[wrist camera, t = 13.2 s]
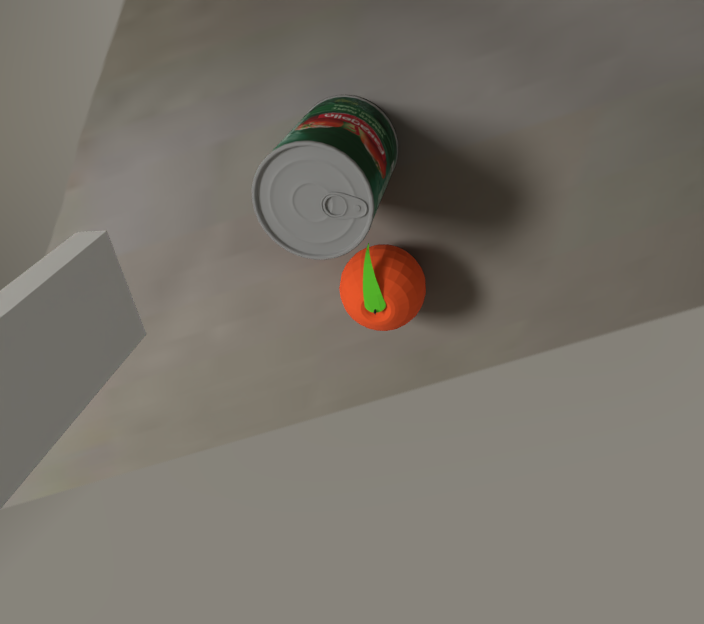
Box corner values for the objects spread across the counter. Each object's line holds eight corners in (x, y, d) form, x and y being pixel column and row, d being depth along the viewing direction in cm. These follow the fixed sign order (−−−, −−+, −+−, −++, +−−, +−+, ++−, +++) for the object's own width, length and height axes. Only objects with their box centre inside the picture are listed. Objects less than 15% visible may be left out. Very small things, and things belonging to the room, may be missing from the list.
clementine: (337, 224, 51) (315, 265, 45) (419, 212, 49) (408, 253, 43) (359, 305, 55) (342, 352, 49) (436, 297, 53) (428, 345, 47)
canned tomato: (299, 190, 50) (254, 252, 41) (296, 90, 46) (245, 135, 37) (395, 200, 49) (370, 267, 40) (402, 99, 45) (376, 148, 36)
